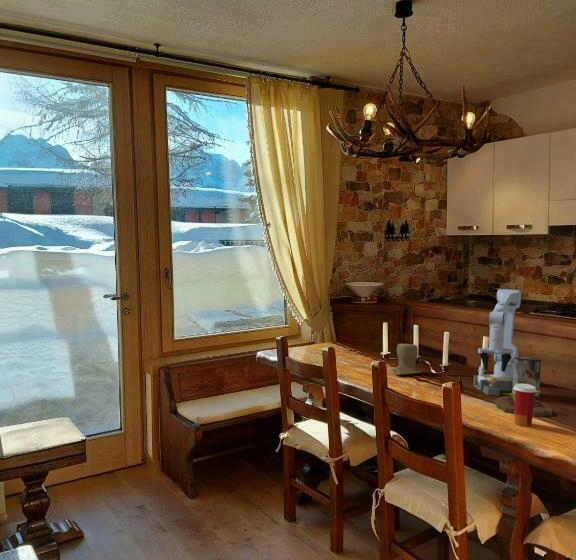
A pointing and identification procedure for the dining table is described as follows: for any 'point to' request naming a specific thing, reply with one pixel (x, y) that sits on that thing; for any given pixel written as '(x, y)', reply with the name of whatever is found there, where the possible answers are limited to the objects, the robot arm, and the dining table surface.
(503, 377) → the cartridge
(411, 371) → the grey top hat
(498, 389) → the housing
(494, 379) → the plunger
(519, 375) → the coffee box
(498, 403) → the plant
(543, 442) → the dining table surface
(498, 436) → the dining table surface
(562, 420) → the dining table surface
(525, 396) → the paper cup
